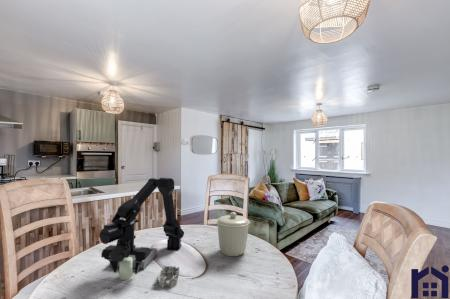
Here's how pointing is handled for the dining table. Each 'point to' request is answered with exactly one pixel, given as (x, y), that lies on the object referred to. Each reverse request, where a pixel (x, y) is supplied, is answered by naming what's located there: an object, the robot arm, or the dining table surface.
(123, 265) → the pale green cylinder
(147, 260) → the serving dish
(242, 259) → the dining table surface
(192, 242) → the dining table surface
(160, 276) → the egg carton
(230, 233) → the canister
